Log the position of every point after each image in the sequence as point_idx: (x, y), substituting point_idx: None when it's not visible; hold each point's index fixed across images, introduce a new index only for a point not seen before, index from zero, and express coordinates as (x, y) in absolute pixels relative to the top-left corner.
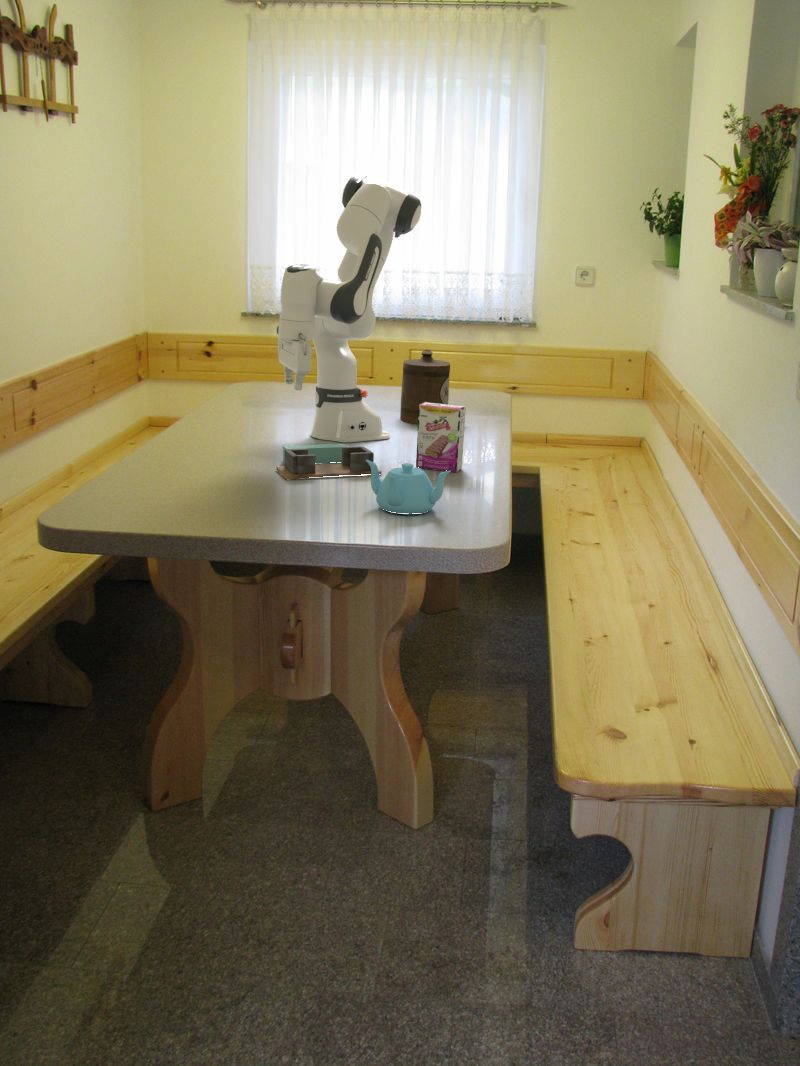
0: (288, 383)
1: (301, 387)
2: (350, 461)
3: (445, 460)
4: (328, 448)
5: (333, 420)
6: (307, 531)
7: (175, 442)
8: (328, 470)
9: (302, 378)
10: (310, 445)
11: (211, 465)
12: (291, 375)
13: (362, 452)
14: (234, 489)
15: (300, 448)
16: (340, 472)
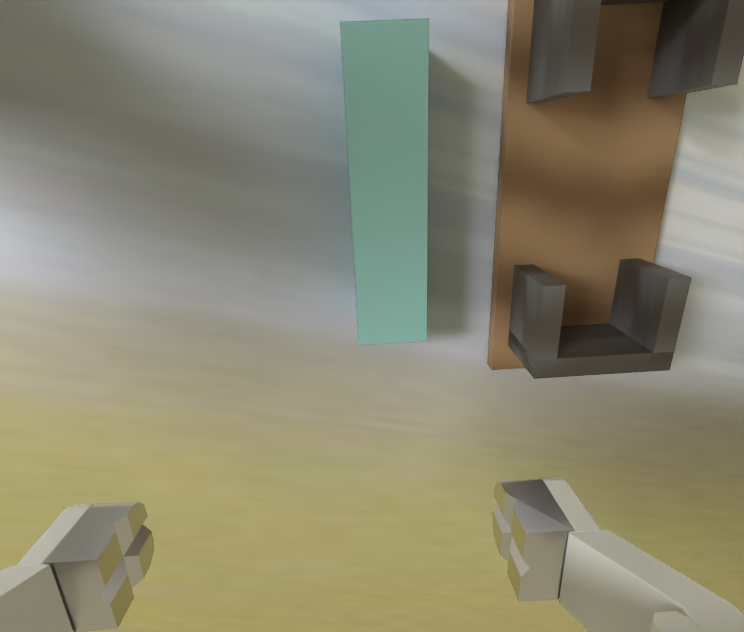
0: (147, 537)
1: (570, 496)
2: (681, 91)
3: None
4: (426, 141)
5: None
6: None
7: None
8: (608, 193)
9: (695, 603)
10: (366, 223)
11: (375, 522)
12: (34, 589)
13: (731, 5)
14: (668, 497)
15: (425, 283)
16: (659, 151)
